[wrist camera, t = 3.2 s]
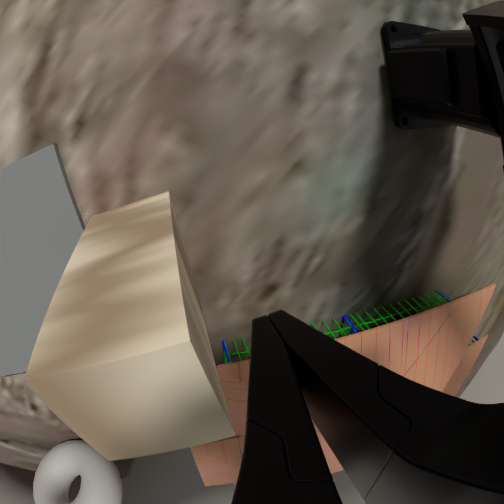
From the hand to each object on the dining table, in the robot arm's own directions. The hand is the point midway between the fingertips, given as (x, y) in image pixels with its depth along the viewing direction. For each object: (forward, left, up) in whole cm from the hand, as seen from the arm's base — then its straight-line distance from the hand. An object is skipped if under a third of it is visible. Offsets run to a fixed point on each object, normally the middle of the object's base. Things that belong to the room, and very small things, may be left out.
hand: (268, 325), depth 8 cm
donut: (+18, +16, -8) cm, 25 cm away
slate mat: (+12, 0, -8) cm, 15 cm away
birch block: (+4, 0, -8) cm, 9 cm away
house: (-9, +21, -9) cm, 24 cm away
